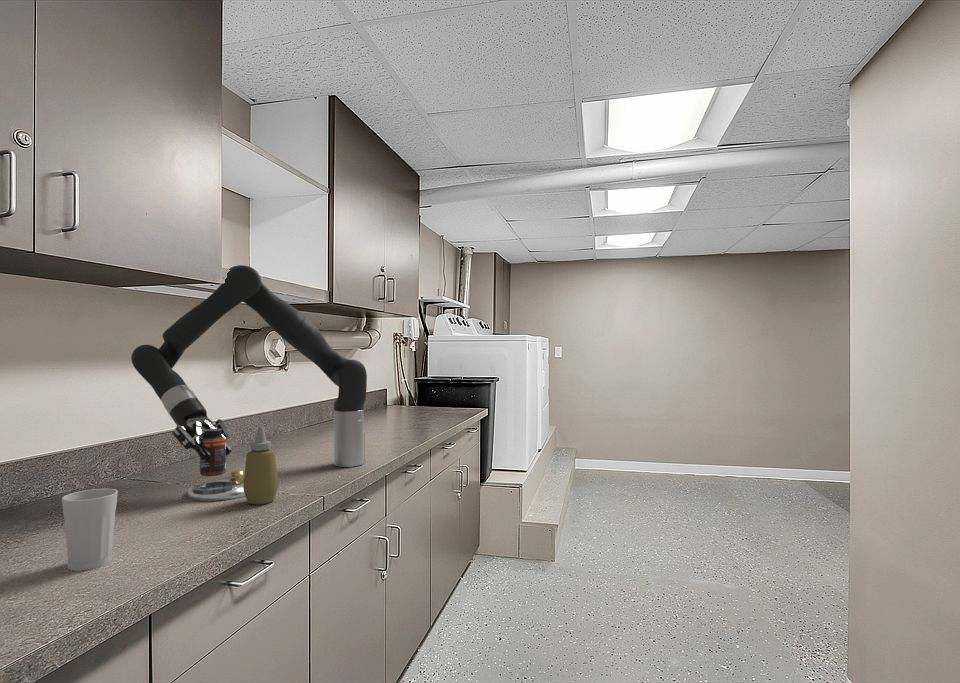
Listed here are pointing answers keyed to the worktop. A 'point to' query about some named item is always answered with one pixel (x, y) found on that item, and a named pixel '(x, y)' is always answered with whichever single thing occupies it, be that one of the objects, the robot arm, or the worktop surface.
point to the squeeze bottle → (260, 471)
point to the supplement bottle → (214, 453)
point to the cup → (89, 527)
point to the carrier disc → (219, 488)
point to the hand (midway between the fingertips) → (218, 455)
